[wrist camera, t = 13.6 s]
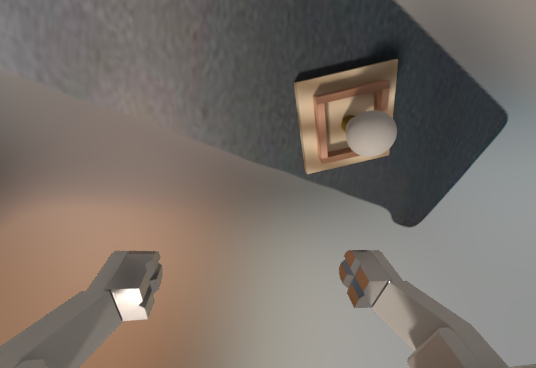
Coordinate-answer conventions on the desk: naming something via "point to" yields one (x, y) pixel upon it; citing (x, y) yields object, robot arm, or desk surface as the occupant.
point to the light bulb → (370, 132)
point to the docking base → (340, 111)
